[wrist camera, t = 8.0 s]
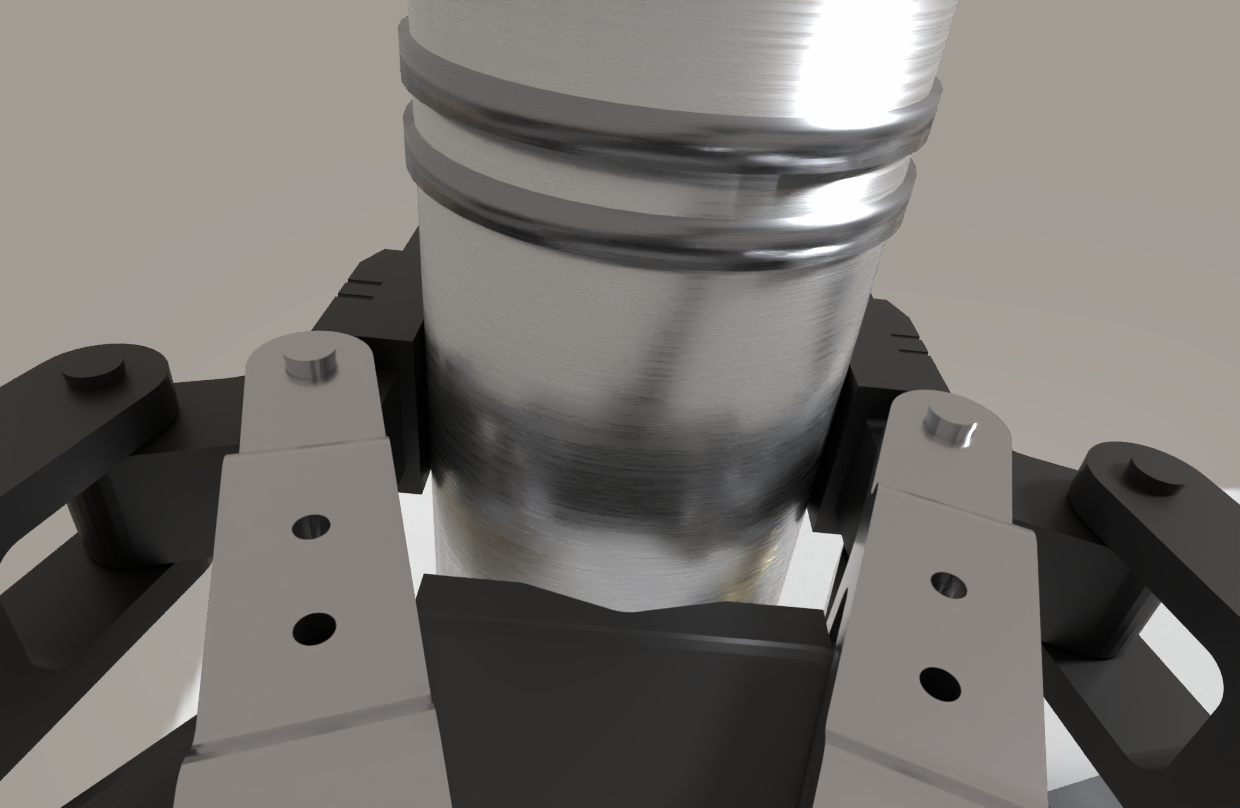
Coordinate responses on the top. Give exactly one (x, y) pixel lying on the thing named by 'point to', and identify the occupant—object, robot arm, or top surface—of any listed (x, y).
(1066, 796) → the ring base
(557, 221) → the piston
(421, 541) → the top surface
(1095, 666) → the robot arm
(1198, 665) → the top surface
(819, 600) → the top surface
